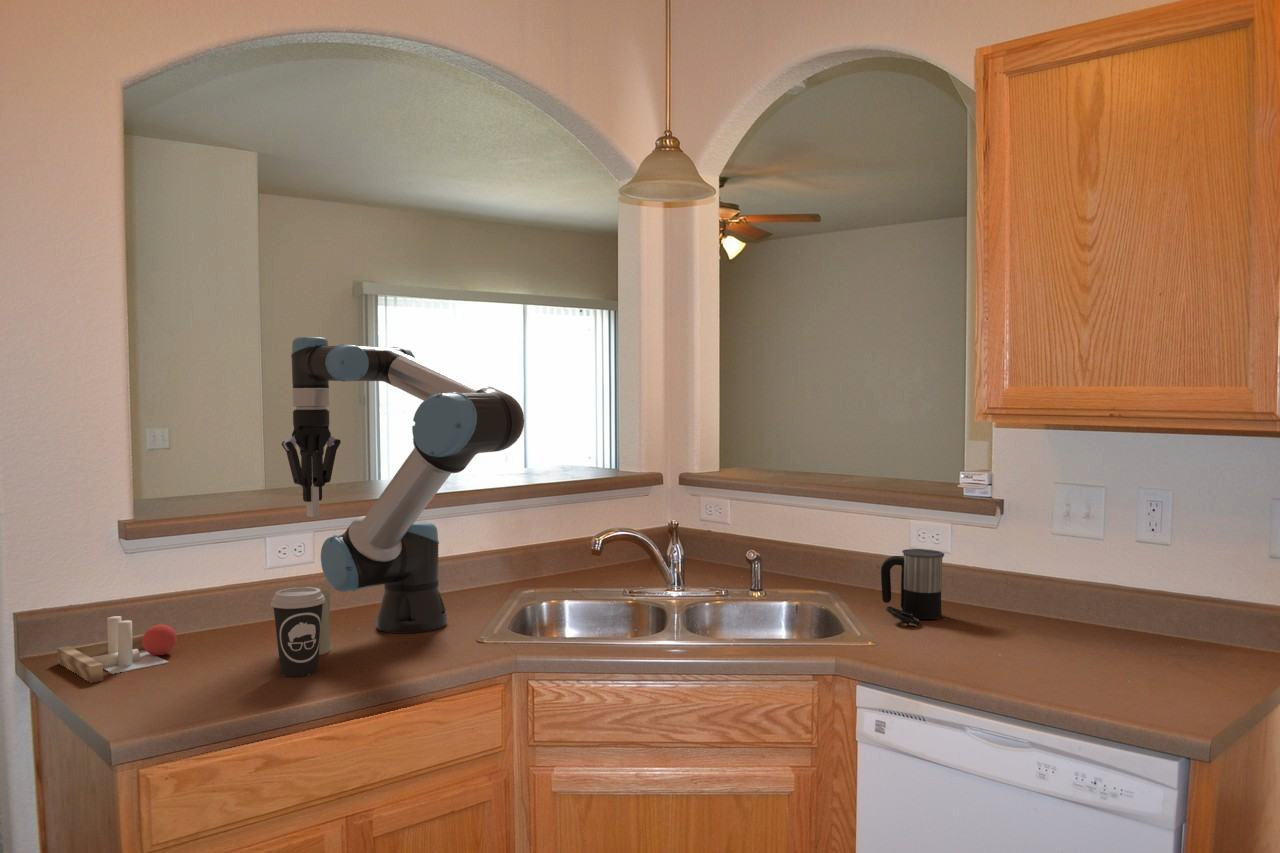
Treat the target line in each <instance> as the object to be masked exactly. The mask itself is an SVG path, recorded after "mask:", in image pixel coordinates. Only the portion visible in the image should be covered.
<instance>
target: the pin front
mask: <svg viewBox="0 0 1280 853" xmlns="http://www.w3.org/2000/svg"><path fill="white" fill-rule="evenodd" d="M132 654H133V662H134V661H139V660H140V653H139V650H138V649H133V650H132ZM90 658H92V659H94V660H96V661H98V662H100V663H102V664H103V667H108V666H113V665H118V652H117V653H112V654H106V655H101V656H95V657H90Z"/></svg>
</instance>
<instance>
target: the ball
mask: <svg viewBox="0 0 1280 853" xmlns="http://www.w3.org/2000/svg"><path fill="white" fill-rule="evenodd" d="M143 634H144V636H143V647H144V649H145V651H147V652H148V653H150V654H152V655H155V656H158V657H160V656H164V655H166V654H168V653H170V652H171V651H172V650H173V649H174V648H175V646H176V644H177V640H178V638H177V634H176V631H175V630H174V629H173V627H171V626H169V625H166V624H161V623H160V624H155V625H152V626H151V627H149V628H148V629H147V630H145V633H143Z"/></svg>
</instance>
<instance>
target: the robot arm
mask: <svg viewBox="0 0 1280 853" xmlns="http://www.w3.org/2000/svg"><path fill="white" fill-rule="evenodd" d="M291 345H292V346H291V351H292V352H291V355H290V358H291V375H292V376H291V377H292V380H291V381H292V382H291V383H292V407H293V408H295V409H293V411H292V426H293V431H292V434H291V437H290V438H288V439H287V440H283V441H282V442H281V446H282V448H283V449H284V451H285V453H286V456H287V459H288V463H289V468H290V471H291V476H292V480H293V483H294V484H295V485H298V486H301V487H302V500H303V502H305V503H306V517H310V518H316V517H317V518H320V501H322V500H323V487H324V486H325V485H326V484H327V483H330V482H331V479H332V476H333V470H334V469H333V468H334V466H335V465H334V464H335V460H336V455H337V451H338V448H339V446H340V444H341V442H342V441H341V439H337V438H336V437H333V435H332V433H331V430H330V429H329V427H330V410H329V409H327V408H328V407H330V389H329V388H330V385H329V383H330V382H331V381H332V382H384V383H385V384H389V385H390V386H393V387H394V388H397V389H399V390H401V391H403V392H405V393H407V394H410V395H411V396H413V397H416V398H417V399H419V400H422V402H421V403H420V405H419V406H418V408H417V409H416V410H415V413H414V415H413V419H412V421H413V422H414V425H412V426H411V430H412V436H413V438H412V442H413V443H412V444H413V447H414V448H413V449H412V451H410V453H409V455H408V456H407V458H406V459H405V461H404V462H403V463H402V464H401V466H400V468H399V469H398V470H397V472H396V473H395V474H394V476H393V477H392V478H391V480H390V482H388V484H387V486H386V487H385V488H384V490H383V491H382V493H381V494H380V496H379V497H378V499H377V500H376V501H375V502H374V504H373V505H372V506H371V508H370V510H369V511H368V512H367V514H366V515H363V516H359V517H356V519H354V520H353V521H352V522H351V523H350V524H349V526H348V527H347V529H346V530H345V531H344V533H342V534H340V535H337V534H334V535H332V536H329V537H328V538H326V539H325V540H324V542H323V543H322V545H321V551H320V562H321V564H320V565H321V568H322V572H323V576H324V578H325V579H326V581H327V583H328V584H329V585H330V587H331V588H332V589H334V590H336V591H338V592H340V593H341V592H342V593H344V592H345V593H346V592H356V591H358V590H364V589H368V588H372V587H377V586H382V585H384V593H383V595H382V599H381V602H380V605H379V608H378V612H377V615H376V628H377V630H379V631H381V632H385V633H389V634H390V633H393V634H417V633H425V632H430V631H431V632H432V631H435V630H439V629H441V628H444V627H445V626H446V625H447V624H448V613H447V610H446V606H445V605H444V601H443V598H442V595H441V592H440V589H439V588H440V587H439V544H440V541H439V537H438V536H439V535H438V527H436V525H435V524H433V523H430V522H426V521H425V522H423V521H417V519H418V518H419V517H420V515H421V514H422V513H423V511H424V510H425V508H427V506H428V505H429V503H430V502H431V501H432V500H433V498H434V497H435V496H436V494H437V493H438V491H439V490H440V489H441V488H442V486H444V484H445V482H446V481H447V480H448V479H449V477H450V476H451V474H459V473H461V472H463V471H464V470H465V469H466V468H467V467H468V465H469V464H470V463H471V461H472V460H473V459H474V457H475V456H476V455H478V454H483V453H494V452H495V453H496V452H500V451H505V450H507V449H509V448H511V447H512V446H513V445H514V444H515V443H516V442H517V441H518V440H519V438H520V437H521V436H522V434H523V431H524V427H525V415H524V411H523V408H522V406H521V404H520V403H519V402H518V401H517V400H516V398H514V397H513V396H511V395H510V394H508V393H506V392H503V391H502V390H500V389H497V388H494V387H492V386H481V387H480V386H477V385H476V384H474V383H471V382H469V381H467V380H464V379H461V378H459V377H458V376H455V375H453V374H451V373H448V372H447V371H444V370H442V369H439V368H437V367H435V366H432V365H430V364H428V363H426V362H423V361H422V360H420V359H417V358H416V357H415V355H414V354H413V352H412V351H411V349H409V348H404V347H399V346H366V345H365V346H364V345H354V344H339V345H329V341H328V339H327V338H326V337H321V336H320V337H317V336H304V337H303V336H301V337H300V336H299V337H295V338H294V339H293V340H292V343H291ZM297 446H298V448H299V453H298V451H297ZM325 446H326V448H325ZM299 455H300V458H301V459H300V458H299ZM323 457H324V458H323ZM443 626H444V627H443ZM438 628H439V629H438Z"/></svg>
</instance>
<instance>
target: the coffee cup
mask: <svg viewBox="0 0 1280 853" xmlns="http://www.w3.org/2000/svg"><path fill="white" fill-rule="evenodd" d="M321 590H322V589H320V588H318V587H313V586H312V587H311V586H299V587H298V586H297V587H289V588H283V589H279V590H277V591H275V592H274V597H273V598H271V601H270V606H271V607H272V608H273V615H274V621H275V622H274V625H275V632H276V634H275V635H276V641H277V650H278V661H279V668H280V669H279V670H280V674H282V675H281V676H283V675H285V676H284V677H287V676H301V677H303V676H302V675H307V676H309V675H308V674H311V675H313V674H312V673H314V674H316V673H317V672H318V671H319V660H320V659H319V658H320V657H319V656H320V655H319V647H320V633H321V620H322V607H323V603H324V602H325V597H324V595H323V594H322V593H321ZM317 670H318V671H317ZM316 671H317V672H316ZM315 672H316V673H315Z"/></svg>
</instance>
